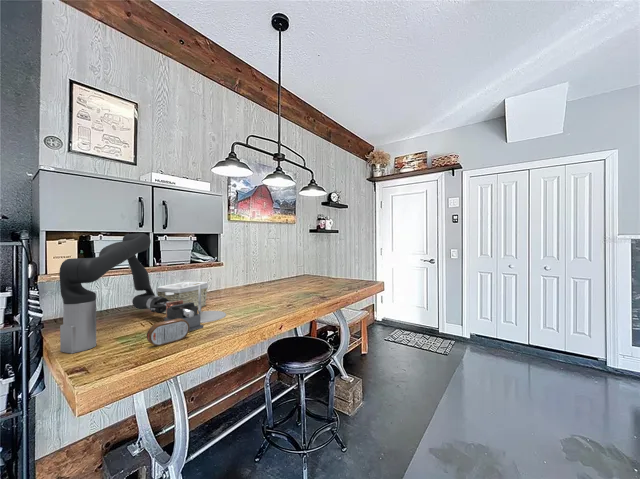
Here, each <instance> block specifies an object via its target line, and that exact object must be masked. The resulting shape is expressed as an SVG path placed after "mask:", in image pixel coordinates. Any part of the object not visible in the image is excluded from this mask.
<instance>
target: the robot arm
mask: <svg viewBox="0 0 640 479" xmlns="http://www.w3.org/2000/svg"><path fill="white" fill-rule="evenodd" d="M150 246H151V238H150V236H149V235H148V234H147V233H142V232H141V233H140V232H139V233H137V232H136V233H127V234H125V235H123V237H122V240H121V241H117V242H113V243H111V244H109V245H107V246H105V247H103V248H102V249H101V250H100V251H99V252H98V256H96V257H86V258H85V257H81V258H80V257H79V258H77V257H76V258H73V257H72V258H67V259H65V260H63V261H62V263H61V264H60V266H59V267H60V268H59V286H60V288H59V289H60V297H61V299H62V303H63V305H62V307H63V308H62V309H63V310H62V312H63V313H62V316H63V317H62V319H63V321H62V322H63V323H62V324H60V326H59V327H60V328H59V336H60V339H59V340H60V341H59V342H60V345H59V347H60V349H59V350H60V353H67V354H75V353H79V352H80V353H81V352H83V351H89V350H90V349H92V348H95V347H96V346H97V294H96V292H94V291H92V290H89V289H87V288H85V287H83V285H82V284H89V283H94V282H97V281H98V280H99V279H100V278H102V277H103V276H105V274H107V273H108V272H109V271H111V270H112V269H113V268H115V267H117V266H119V265H121V264H122V263H125V261H127V262H128V265H129V268H130V271H131V276H132V281H133V286H134V290H135V291H139V292H140V291H141V292H142V291H145V293H141V294H138V295H135V296H134V297H133V298H132V300H131V302H132V305H133V307H134V308H135V309H138V310H150V311H151V312H152V313H157V314H164V313H163V312H165V311H166V303H168V302H169V300H168V299H166V298H164V297H160V296H158V295H156V294H155V293H154V290H153V289H152V286H151V283H150V275H149V273H148V271H147V268H146V267H145V266H144V265H143V264H142V263H141V262H140V261H139V259H138V257H137V254H139V253H143V252H145V251H147V250H148V249H149V248H150Z"/></svg>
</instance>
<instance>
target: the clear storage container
mask: <svg viewBox="0 0 640 479" xmlns="http://www.w3.org/2000/svg"><path fill="white" fill-rule="evenodd" d="M199 285H201V308H203V307H205V306H206V304H207V303H206V302H207V301H206V300H207V294H208V287H209V283H208V282H207V281H188V280H187V281H182V282H177V283H171V284H170V283H169V284H165V285H160V286H157V288H156V296H160V297H164V298H166V299H168V300H169V302H174V301H180V300H183V304H184V303H189V302H194V305H195V306H197V309H198V291H199ZM162 314H166V311H165V312H163V313H162Z"/></svg>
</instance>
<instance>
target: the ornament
mask: <svg viewBox="0 0 640 479" xmlns="http://www.w3.org/2000/svg"><path fill="white" fill-rule="evenodd" d="M197 309H198V314H200V324H203V323H205V324H206V323H211V322H215V321H219V320H222V319H224V318H226V317H227V313H226V312H225V311H221V310H203V311H202V307H201V285H199V291H198V308H197Z"/></svg>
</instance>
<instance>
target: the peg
mask: <svg viewBox="0 0 640 479" xmlns="http://www.w3.org/2000/svg"><path fill="white" fill-rule="evenodd" d="M179 304H183V300H180V301H174V302H168V303H166V313H165V315H166V316H165V317H167V308H169V307H170V306H173V305H179ZM181 309H183V316H186V317H189V318H191V317H193V316H194V311H192V310H188V309H185V308H181Z"/></svg>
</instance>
